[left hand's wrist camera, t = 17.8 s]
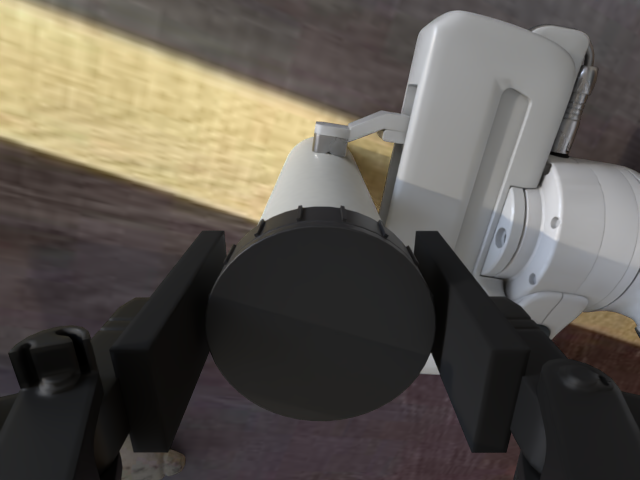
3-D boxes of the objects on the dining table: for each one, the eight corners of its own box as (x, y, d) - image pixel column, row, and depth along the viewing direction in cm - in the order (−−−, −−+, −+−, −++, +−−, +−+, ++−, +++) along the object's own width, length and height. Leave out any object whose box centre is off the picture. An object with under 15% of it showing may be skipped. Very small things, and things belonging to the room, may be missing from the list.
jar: (326, 221, 30) (335, 421, 12) (269, 179, 29) (189, 334, 11) (371, 166, 28) (455, 306, 11) (313, 120, 27) (301, 191, 10)
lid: (465, 260, 11) (487, 288, 10) (360, 409, 13) (366, 450, 12) (269, 164, 10) (261, 178, 9) (188, 340, 12) (170, 376, 11)
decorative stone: (191, 470, 40) (180, 504, 36) (33, 465, 39) (8, 499, 36) (186, 424, 37) (174, 456, 34) (19, 418, 37) (-9, 450, 34)
